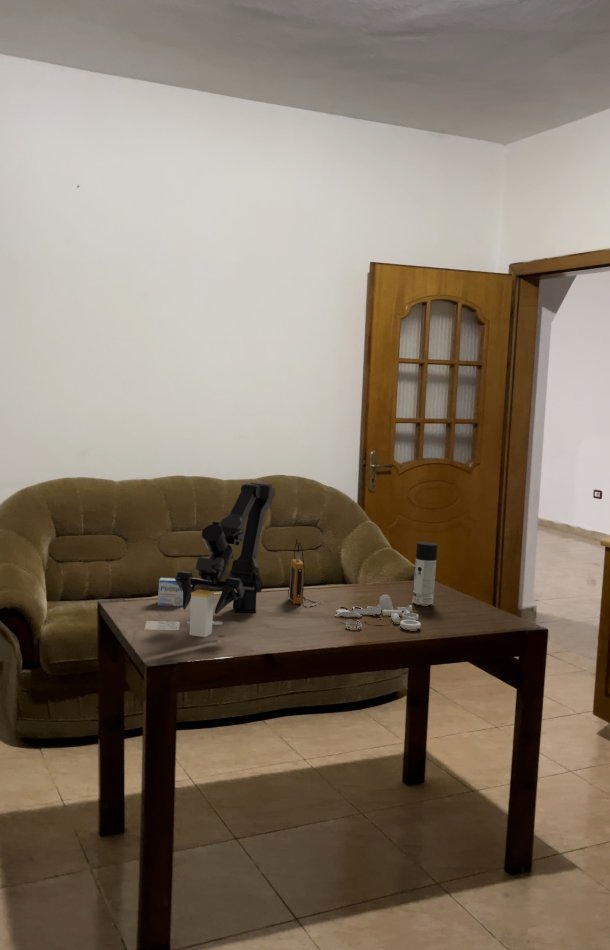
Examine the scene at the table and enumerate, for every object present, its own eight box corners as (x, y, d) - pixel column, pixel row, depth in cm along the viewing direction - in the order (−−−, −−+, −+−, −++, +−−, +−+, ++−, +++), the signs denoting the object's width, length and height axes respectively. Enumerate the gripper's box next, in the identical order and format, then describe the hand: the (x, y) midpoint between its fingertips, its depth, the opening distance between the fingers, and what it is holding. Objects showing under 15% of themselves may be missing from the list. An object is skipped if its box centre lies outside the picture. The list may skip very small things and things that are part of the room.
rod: (222, 626, 247) (222, 620, 246) (222, 628, 245) (222, 622, 245) (186, 625, 245) (186, 620, 245) (186, 627, 244) (186, 621, 244)
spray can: (414, 600, 289) (418, 540, 287) (435, 603, 287) (439, 542, 284) (410, 604, 283) (414, 543, 280) (430, 607, 280) (435, 546, 278)
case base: (183, 624, 247) (183, 620, 246) (182, 634, 237) (182, 631, 237) (143, 623, 245) (143, 619, 245) (140, 633, 235) (140, 630, 235)
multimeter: (327, 607, 273) (331, 544, 271) (295, 608, 271) (299, 544, 269) (316, 596, 288) (320, 535, 285) (286, 596, 285) (289, 535, 283)
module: (196, 632, 238) (198, 589, 237) (211, 634, 237) (213, 591, 235) (189, 636, 234) (191, 592, 232) (204, 639, 232) (206, 594, 231)
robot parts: (338, 633, 250) (339, 614, 249) (331, 608, 275) (332, 592, 274) (425, 636, 251) (426, 618, 251) (410, 611, 276) (411, 595, 275)
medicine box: (157, 608, 261) (158, 580, 261) (159, 604, 266) (160, 576, 265) (184, 609, 262) (185, 581, 261) (185, 606, 266) (186, 577, 265)
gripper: (179, 541, 239) (158, 590, 230) (242, 549, 234) (224, 599, 224) (190, 565, 247) (171, 612, 238) (252, 572, 242) (234, 621, 233)
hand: (199, 610), depth 233 cm, fingers open, 9 cm apart
